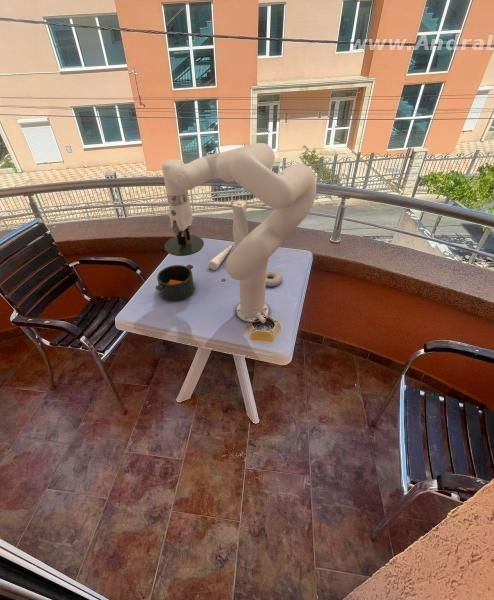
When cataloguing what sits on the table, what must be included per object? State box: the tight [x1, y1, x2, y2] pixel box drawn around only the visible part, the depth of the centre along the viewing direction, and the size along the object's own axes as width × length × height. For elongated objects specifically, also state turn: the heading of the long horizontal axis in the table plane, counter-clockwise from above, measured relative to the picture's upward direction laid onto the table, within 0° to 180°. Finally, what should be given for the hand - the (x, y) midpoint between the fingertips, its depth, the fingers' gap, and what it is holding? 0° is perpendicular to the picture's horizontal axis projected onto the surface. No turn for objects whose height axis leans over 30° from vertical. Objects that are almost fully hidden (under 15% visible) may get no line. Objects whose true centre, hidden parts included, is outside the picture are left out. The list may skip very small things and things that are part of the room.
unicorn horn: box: [208, 244, 234, 271], centre depth 157 cm, size 5×24×5 cm, turn 152°
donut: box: [265, 269, 283, 288], centre depth 140 cm, size 10×3×10 cm
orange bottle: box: [167, 280, 183, 284], centre depth 138 cm, size 10×3×4 cm, turn 72°
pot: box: [155, 264, 195, 302], centre depth 137 cm, size 15×20×8 cm
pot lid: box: [164, 230, 205, 257], centre depth 125 cm, size 16×16×7 cm
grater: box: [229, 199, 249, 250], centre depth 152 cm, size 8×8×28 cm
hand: (184, 241), depth 125 cm, fingers closed on pot lid, 3 cm apart
